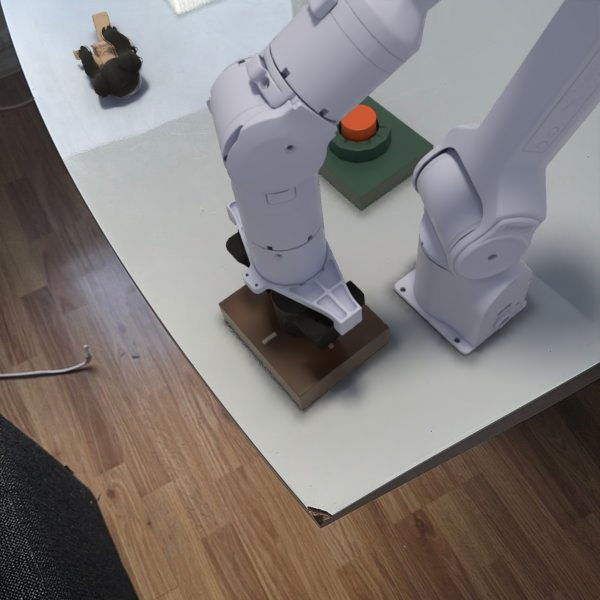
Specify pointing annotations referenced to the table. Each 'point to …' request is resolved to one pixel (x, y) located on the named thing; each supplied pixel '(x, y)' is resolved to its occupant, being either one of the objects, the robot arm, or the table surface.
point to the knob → (287, 313)
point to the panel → (300, 345)
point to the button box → (373, 158)
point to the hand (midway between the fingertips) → (300, 312)
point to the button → (359, 124)
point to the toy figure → (111, 61)
